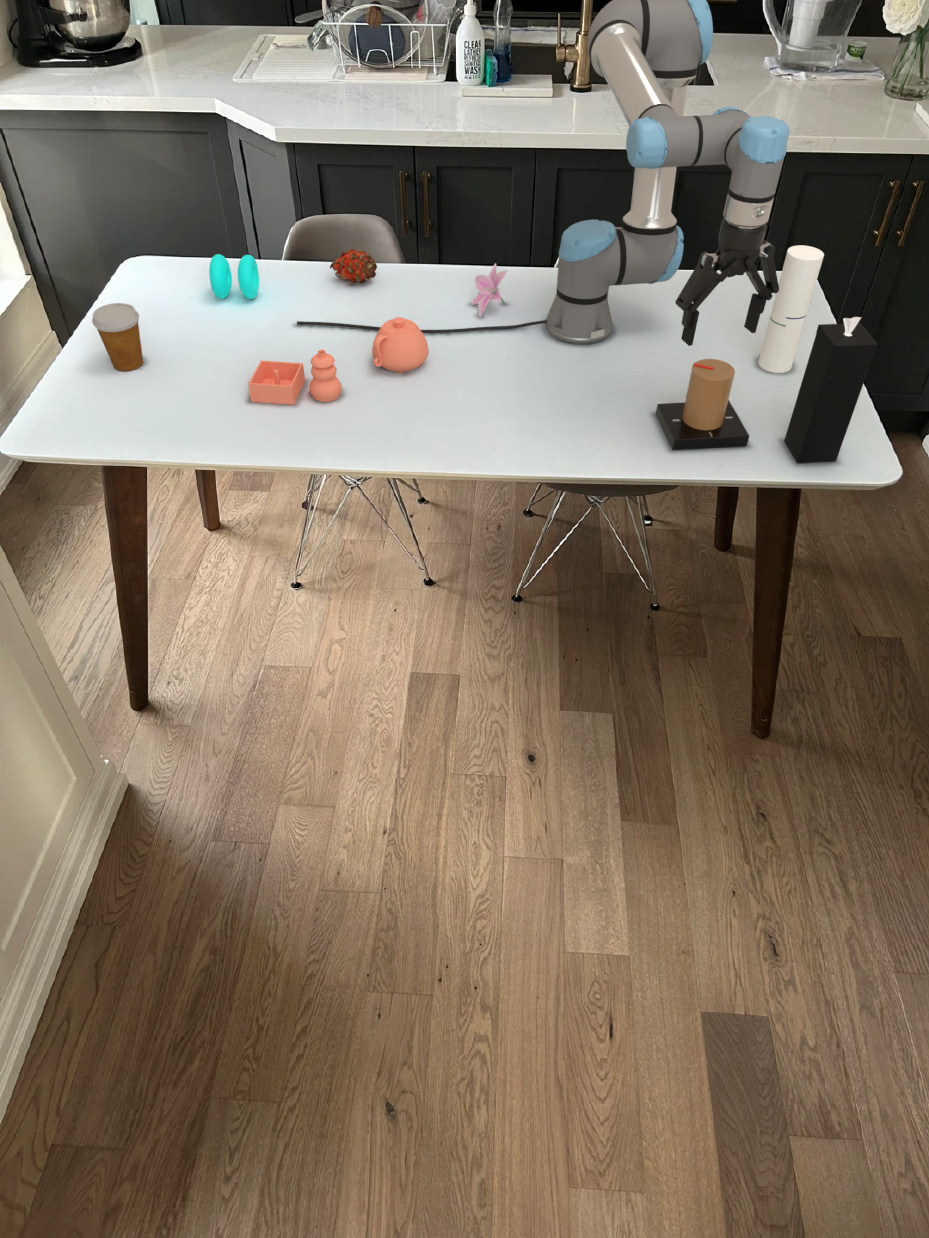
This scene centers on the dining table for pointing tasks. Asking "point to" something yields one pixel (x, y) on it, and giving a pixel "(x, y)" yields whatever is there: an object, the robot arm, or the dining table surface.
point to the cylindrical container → (790, 308)
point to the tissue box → (829, 390)
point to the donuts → (223, 279)
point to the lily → (488, 288)
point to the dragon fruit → (354, 266)
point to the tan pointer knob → (708, 394)
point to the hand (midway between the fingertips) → (718, 336)
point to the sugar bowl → (399, 346)
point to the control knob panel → (692, 438)
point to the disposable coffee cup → (120, 335)
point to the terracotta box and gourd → (294, 381)
